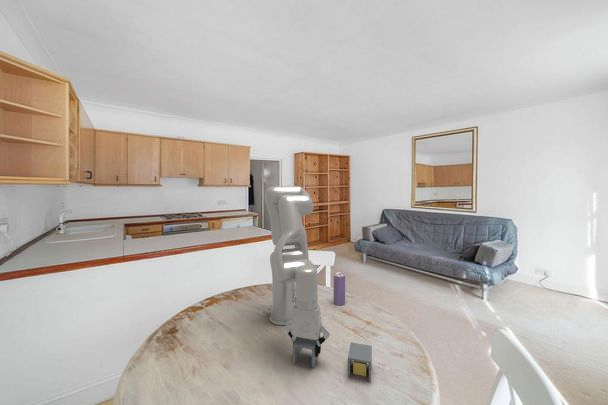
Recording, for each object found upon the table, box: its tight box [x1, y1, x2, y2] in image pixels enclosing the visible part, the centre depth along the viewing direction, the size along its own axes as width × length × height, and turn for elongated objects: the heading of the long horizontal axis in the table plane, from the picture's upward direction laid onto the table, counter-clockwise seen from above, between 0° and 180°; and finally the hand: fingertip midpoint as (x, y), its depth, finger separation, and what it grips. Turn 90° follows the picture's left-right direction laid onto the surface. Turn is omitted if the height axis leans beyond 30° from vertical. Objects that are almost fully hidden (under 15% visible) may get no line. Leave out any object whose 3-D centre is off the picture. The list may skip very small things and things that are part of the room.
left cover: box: [292, 337, 318, 368], centre depth 86 cm, size 7×8×6 cm
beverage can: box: [332, 272, 346, 306], centre depth 127 cm, size 6×6×15 cm
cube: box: [352, 360, 368, 377], centre depth 80 cm, size 4×4×4 cm
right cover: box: [347, 341, 373, 383], centre depth 80 cm, size 7×8×6 cm
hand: (306, 352), depth 86 cm, fingers closed on left cover, 6 cm apart
